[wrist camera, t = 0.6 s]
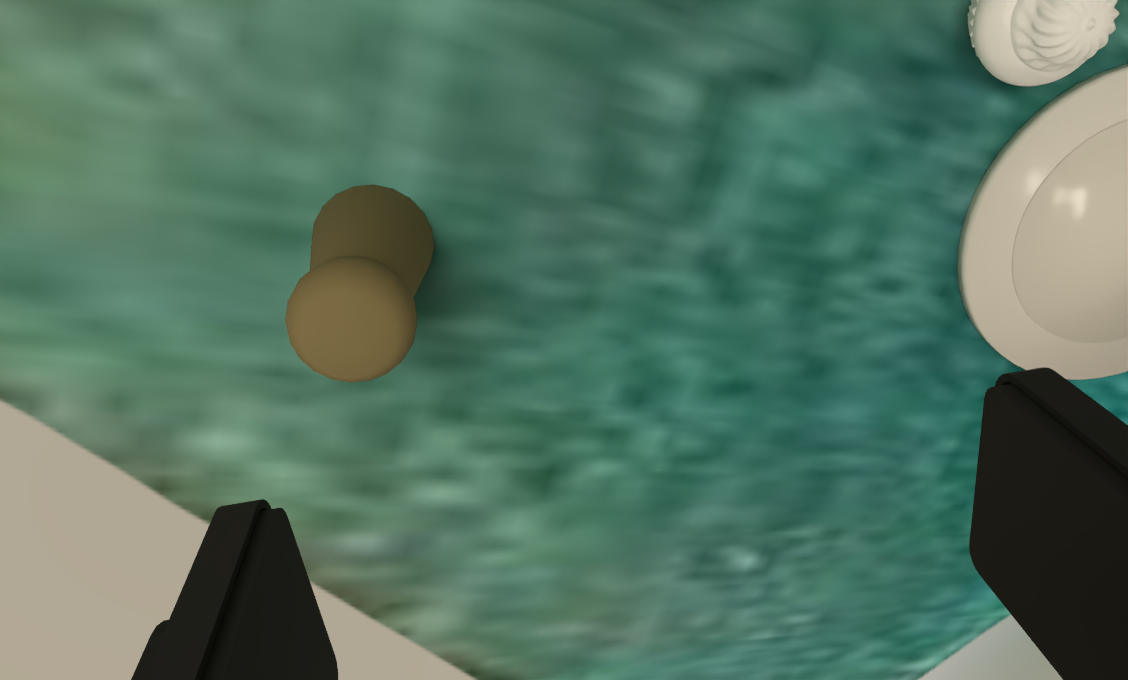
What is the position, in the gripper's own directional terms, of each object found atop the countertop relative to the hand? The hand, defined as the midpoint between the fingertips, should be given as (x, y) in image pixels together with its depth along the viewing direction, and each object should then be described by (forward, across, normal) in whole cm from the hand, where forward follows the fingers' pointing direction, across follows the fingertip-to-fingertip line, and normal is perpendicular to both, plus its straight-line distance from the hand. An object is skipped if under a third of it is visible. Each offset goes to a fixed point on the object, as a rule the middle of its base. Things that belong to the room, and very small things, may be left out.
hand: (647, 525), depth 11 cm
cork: (+33, +8, +6) cm, 35 cm away
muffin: (+33, -24, -1) cm, 41 cm away
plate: (+33, -32, +12) cm, 47 cm away
